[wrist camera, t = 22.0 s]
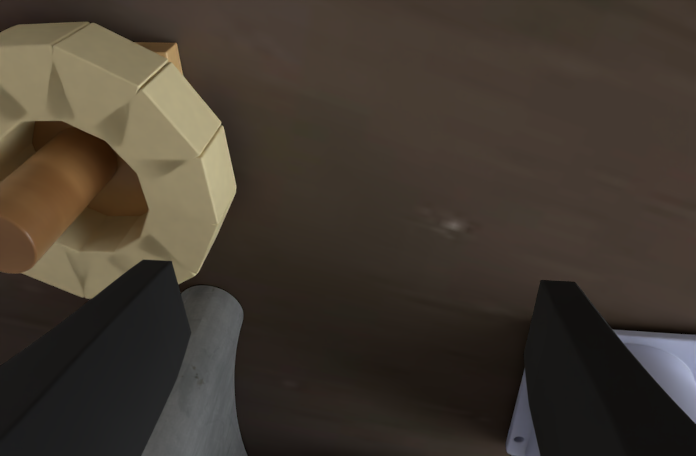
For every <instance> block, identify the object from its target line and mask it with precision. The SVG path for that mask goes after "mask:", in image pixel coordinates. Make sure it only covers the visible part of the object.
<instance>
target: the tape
mask: <svg viewBox="0 0 696 456" xmlns="http://www.w3.org/2000/svg"><path fill="white" fill-rule="evenodd" d="M35 121H63V122H65V123H67V124H69V125H71V126H74V127H76V128H78V129H80V130H82V131H85V132H87V133H89V134H91V135H93V136H96V137H98V138H100V139H102V140H104V141H106V142H107V143H108V144H109V145H110V146H111V147H112V148H113V149H114V151H115V152H116V153H117V154H118V155H119V156H120V157H121V158H122V159H123V160H124V161H125V162H126V163H127V164H128V165H129V166H130V167H131V168H132V169H133V170H134V171H135V172H136V173H137V176H138V179H139V182H140V185H141V188H142V191H143V194H144V197H145V200H146V203H147V206H148V212H146V213H145V214H143V215H141V216H107V215H104V214H102V213H100V212H97V211H95V210H93V209H90V208H88V207H86V208H85V209H84V210H83V211H82V213H81V214H80V215H79V216H78V217H77V218H76V219H75V220H74V222H73V223H72V224H71V225H70V226H69V227H68V228H67V229H66V231H65V232H64V233H63V234H62V235H61V236H60V237H59V238H58V240H57V241H56V242H55V243H54V244H53V245H52V246H51V247H50V249H49V250H48V251H47V252H46V253H45V254H44V255H43V256H42V258H41V259H40V260H39V261H38V262H37V263H36V264H35V265H34V266H33V267H32V268H31V269H30V270H28V271H25V272H23V273H22V274H25V275H27V276H30V277H32V278H35V279H37V280H40V281H42V282H45V283H47V284H50V285H52V286H55V287H57V288H60V289H62V290H65V291H67V292H69V293H72V294H74V295H77V296H79V297H82V298H83V297H85V298H86V299H92V298H93V297H95V296H96V295H97V294H98V293H100V292H101V291H102V290H104V289H105V288H106V287H107V286H109V285H110V284H111V283H112V282H114V281H115V280H116V279H118V278H119V277H120V276H121V275H123V274H124V273H125V272H127V271H128V270H129V269H131V268H132V267H133V266H135V265H136V264H137V263H139V262H140V261H142V260H143V259H144V260H163V261H172V264H173V267H174V271H175V275H176V278H177V282H178V284H180V283H182V282H184V281H186V280H188V279H190V278H192V277H194V276H195V275H196V274H197V273H199V271H200V269H201V267H202V265H203V263H204V261H205V259H206V257H207V255H208V253H209V251H210V249H211V247H212V245H213V243H214V241H215V239H216V237H217V235H218V233H219V230H220V228H221V226H222V223H223V221H224V219H225V217H226V214H227V212H228V210H229V207H230V205H231V203H232V201H233V198H234V196H235V194H236V188H237V186H236V182H235V177H234V173H233V168H232V163H231V159H230V154H229V150H228V145H227V140H226V136H225V131H224V127H223V126H220V125H221V121H220V120H219V119H218V117H217V116H216V115H215V114H214V113H213V111H212V110H211V109H210V108H209V107H208V105H207V104H206V103H205V102H204V101H203V99H202V98H201V97H200V96H199V95H198V93H197V92H196V91H195V90H194V88H193V87H192V86H191V85H190V84H189V82H188V81H187V80H186V79H185V78H184V76H183V75H182V74H181V73H180V72H179V70H178V69H177V68H176V67H175V66H174V64H173V63H172V62H169V63H168V59H167V58H165V57H163V56H161V55H159V54H157V53H155V52H153V51H151V50H148V49H146V48H144V47H142V46H140V45H138V44H136V43H134V42H132V41H130V40H128V39H126V38H124V37H122V36H120V35H118V34H116V33H114V32H112V31H110V30H108V29H106V28H104V27H102V26H100V25H98V24H96V23H91V24H90V23H89V22H65V23H42V24H19V25H16V26H13V27H10V28H8V29H6V30H4V31H2V32H0V182H1V181H2V180H4V179H5V178H6V177H7V176H8V175H10V174H11V173H12V172H13V171H14V170H15V169H17V168H18V167H19V166H20V165H21V164H23V163H24V162H25V161H26V160H27V159H29V158H30V157H31V156H32V155H33V154H35V153H36V152H35V149H34V147H33V145H32V139H33V132H34V125H35Z"/></svg>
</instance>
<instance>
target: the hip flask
mask: <svg viewBox="0 0 696 456" xmlns="http://www.w3.org/2000/svg"><path fill="white" fill-rule="evenodd" d="M181 297H182V300H183V304H184V308H185V311H186V315H187V319H188V322H189V326H190V329H191V336H190V339H189V343H188V346H187V349H186V353H185V356H184V359H183V362H182V365H181V368H180V371H179V374H178V377H177V380H176V382H175V384H174V387H173V389H172V391H171V393H170V395H169V398H168V400H167V402H166V404H165V406H164V408H163V411H162V413H161V415H160V417H159V419H158V421H157V423H156V426H155V428H154V430H153V432H152V434H151V436H150V438H149V441H148V443H147V445H146V447H145V449H144V451H143V453H142V455H141V456H248V455H247V453H246V450H245V447H244V444H243V441H242V438H241V434H240V430H239V425H238V420H237V413H236V403H235V387H234V370H235V357H236V349H237V343H238V338H239V333H240V329H241V326H242V322H243V316H244V315H243V310H242V307H241V305H240V304H239V302H238V301H237V300H236V299H235V298H234V297H233V296H232V295H230V294H229V293H228V292H226V291H224V290H222V289H219V288H217V287H213V286H206V285H199V286H193V287H190V288H188V289H186V290H185V291H184V292H182V294H181Z"/></svg>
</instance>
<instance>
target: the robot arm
mask: <svg viewBox="0 0 696 456" xmlns="http://www.w3.org/2000/svg"><path fill="white" fill-rule="evenodd" d="M190 336H191V329H190V326H189V322H188V319H187V315H186V311H185V308H184V304H183V300H182V297H181V293H180V289H179V286H178V282H177V278H176V275H175V271H174V267H173V264H172V261H163V260H144V259H143V260H142V261H140V262H139V263H137V264H136V265H135V266H133V267H132V268H131V269H129V270H128V271H127V272H125V273H124V274H123V275H121V276H120V277H119V278H118V279H116V280H115V281H114V282H112V283H111V284H110V285H109V286H107V287H106V288H105V289H104V290H102V291H101V292H100V293H98V294H97V295H96V296H95V297H93V298H92V299H91V300H90V301H88V302H87V303H86V304H84V305H83V306H82V307H80V308H79V309H78V310H77V311H75V312H74V313H73V314H71V315H70V316H69V317H67V318H66V319H65V320H64V321H62V322H61V323H60V324H58V325H57V326H56V327H54V328H53V329H52V330H50V331H49V332H47V333H46V334H45V335H43V336H42V337H40V338H39V339H38V340H36V341H35V342H33V343H32V344H31V345H29V346H28V347H26V348H25V349H24V350H22V351H21V352H19V353H18V354H17V355H15V356H14V357H12V358H11V359H10V360H8V361H7V362H5V363H4V364H2V365H1V366H0V456H141V455H142V453H143V451H144V449H145V447H146V445H147V443H148V441H149V438H150V436H151V434H152V432H153V430H154V428H155V426H156V423H157V421H158V419H159V417H160V415H161V413H162V411H163V408H164V406H165V404H166V402H167V400H168V398H169V395H170V393H171V391H172V389H173V387H174V384H175V382H176V380H177V377H178V374H179V371H180V368H181V365H182V362H183V359H184V356H185V353H186V349H187V346H188V343H189V339H190ZM524 364H525V369H524V373H523V377H522V381H521V385H520V388H519V392H518V396H517V400H516V404H515V408H514V412H513V416H512V420H511V424H510V428H509V432H508V436H507V440H506V451H507V453H509V454H511V455H514V456H696V335H689V334H674V333H659V332H644V331H628V330H613V329H612V328H611V327H610V326H609V325H608V323H607V322H606V321H605V320H604V318H603V317H602V316H601V314H600V313H599V312H598V311H597V309H596V308H595V307H594V305H593V304H592V303H591V302H590V300H589V299H588V298H587V296H586V295H585V294H584V292H583V291H582V290H581V289H580V287H579V286H578V285H577V284H576V283H575V282H568V281H549V280H541V281H540V285H539V290H538V294H537V299H536V303H535V307H534V312H533V316H532V320H531V325H530V329H529V333H528V338H527V342H526V346H525V351H524Z"/></svg>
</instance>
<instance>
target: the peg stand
mask: <svg viewBox="0 0 696 456" xmlns="http://www.w3.org/2000/svg"><path fill="white" fill-rule="evenodd" d="M134 43H136V44H138V45H140V46H142V47H144V48H146V49H148V50H151V51H153V52H155V53H157V54H159V55H161V56H163V57H165V58H167V59H168V63H169V62H172V63H173V64H174V66H175V67H176V68H177V69H178V70H179V72H180V73H181V74H182V75H183V72H182V67H181V62H180V57H179V52H178V47H177V43H158V42H134ZM32 145H33V147H34V149H35V152H36V153H35V154H33V155H32V156H31V157H30V158H29V159H27V160H26V161H25V162H24V163H23V164H21V165H20V166H19V167H18V168H17V169H15V170H14V171H13V172H12V173H11V174H10V175H8V176H7V177H6V178H5V179H4V180H2V181H1V182H0V272H4V273H10V274H17V273H23V272H25V271H28V270H30V269H31V268H32V267H33V266H34V265H35V264H36V263H37V262H38V261H39V260H40V259H41V258H42V256H43V255H44V254H45V253H46V252H47V251H48V250H49V249H50V247H51V246H52V245H53V244H54V243H55V242H56V241H57V240H58V238H59V237H60V236H61V235H62V234H63V233H64V232H65V231H66V229H67V228H68V227H69V226H70V225H71V224H72V223H73V222H74V220H75V219H76V218H77V217H78V216H79V215H80V214H81V213H82V211H83V210H84V209H85V208H86V207H88V208H90V209H93V210H95V211H97V212H100V213H102V214H104V215H107V216H141V215H143V214H145V213H146V212H148V206H147V203H146V200H145V197H144V194H143V191H142V188H141V185H140V182H139V179H138V176H137V173H136V172H135V171H134V170H133V169H132V168H131V167H130V166H129V165H128V164H127V163H126V162H125V161H124V160H123V159H122V158H121V157H120V156H119V155H118V154H117V153H116V152H115V151H114V149H113V148H112V147H111V146H110V145H109V144H108V143H107V142H106V141H104V140H102V139H100V138H98V137H96V136H93V135H91V134H89V133H87V132H85V131H82V130H80V129H78V128H76V127H74V126H71V125H69V124H67V123H65V122H63V121H35V125H34V132H33V139H32Z"/></svg>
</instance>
